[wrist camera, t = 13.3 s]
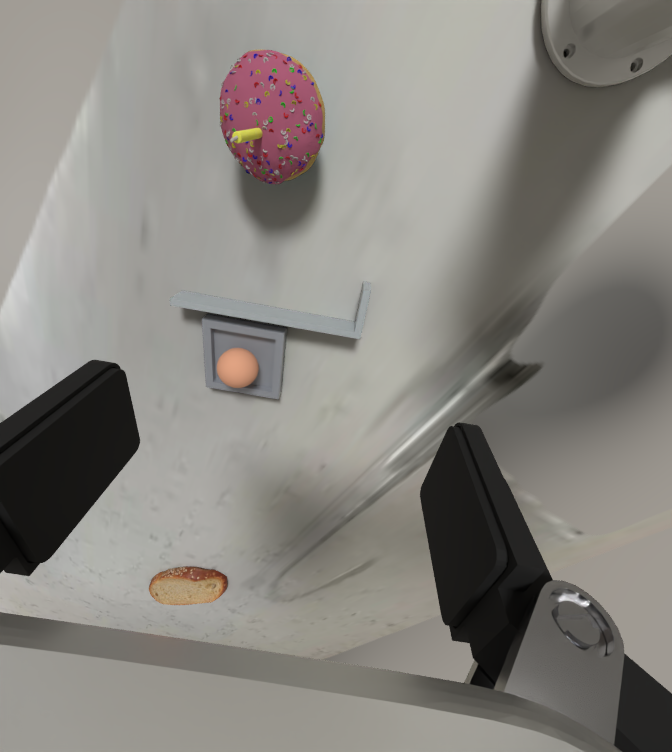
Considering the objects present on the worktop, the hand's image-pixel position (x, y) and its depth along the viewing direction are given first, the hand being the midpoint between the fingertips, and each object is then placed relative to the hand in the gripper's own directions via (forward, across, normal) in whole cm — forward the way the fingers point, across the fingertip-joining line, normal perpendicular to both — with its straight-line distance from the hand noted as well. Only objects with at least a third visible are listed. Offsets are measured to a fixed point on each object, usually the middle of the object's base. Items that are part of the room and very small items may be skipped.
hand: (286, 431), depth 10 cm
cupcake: (+31, +7, -9) cm, 33 cm away
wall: (+30, +7, +7) cm, 32 cm away
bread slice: (+31, +23, +82) cm, 90 cm away
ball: (+30, +10, +16) cm, 35 cm away
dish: (+30, +10, +16) cm, 36 cm away
